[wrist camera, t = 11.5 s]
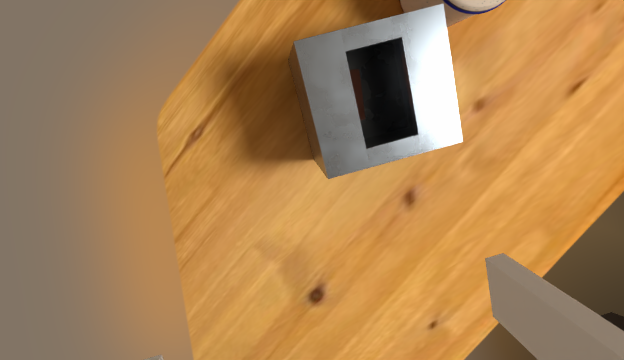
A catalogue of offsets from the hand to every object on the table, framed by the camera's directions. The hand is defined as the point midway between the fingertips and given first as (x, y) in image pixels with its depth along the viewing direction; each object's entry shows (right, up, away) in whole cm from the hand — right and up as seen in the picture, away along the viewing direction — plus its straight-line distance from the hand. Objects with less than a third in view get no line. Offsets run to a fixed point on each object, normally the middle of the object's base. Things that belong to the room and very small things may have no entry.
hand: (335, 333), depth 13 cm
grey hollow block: (+4, +16, +26) cm, 31 cm away
